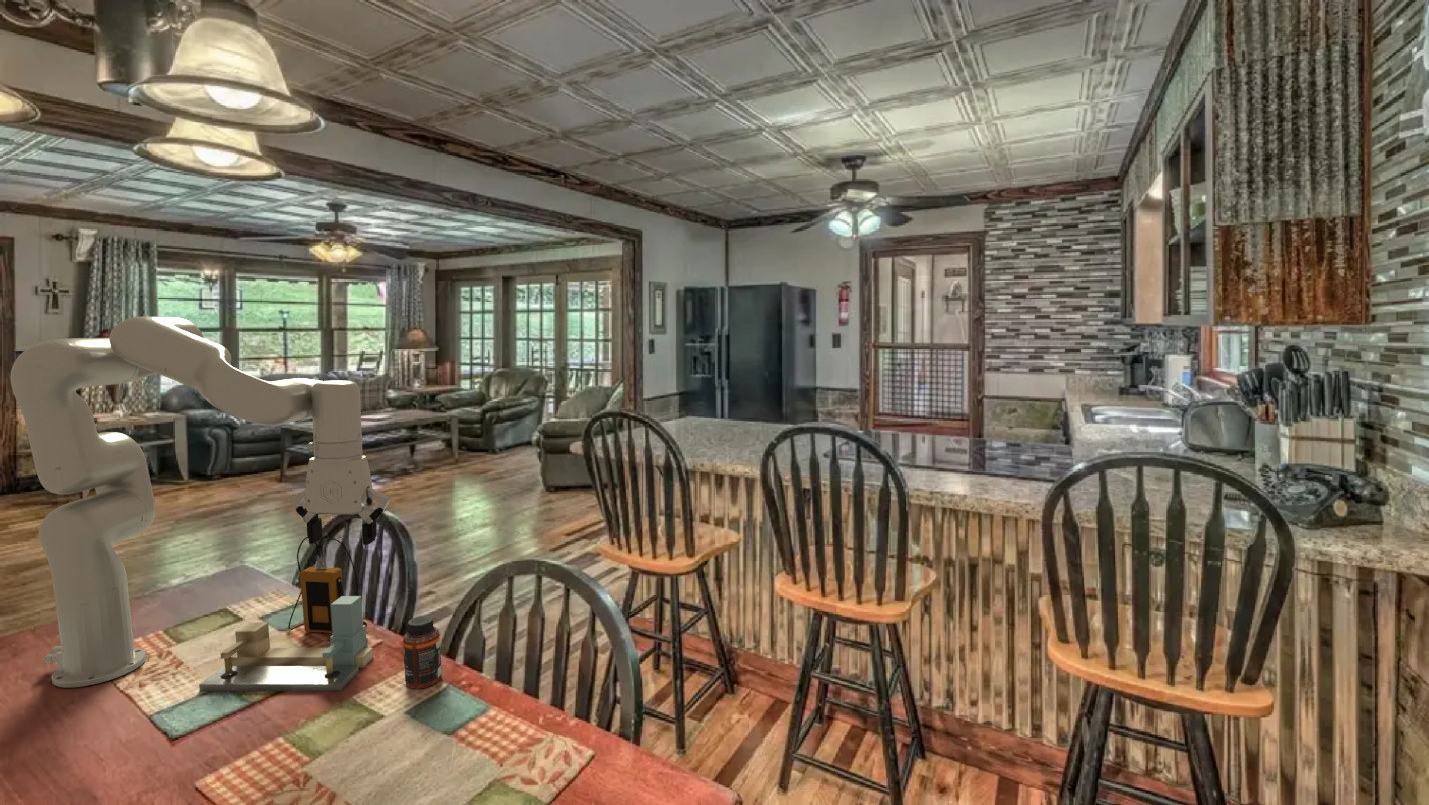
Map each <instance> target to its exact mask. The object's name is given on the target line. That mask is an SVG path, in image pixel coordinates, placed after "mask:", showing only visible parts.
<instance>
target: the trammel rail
mask: <svg viewBox="0 0 1429 805" xmlns="http://www.w3.org/2000/svg"><path fill="white" fill-rule="evenodd" d="M234 633H235V634H234V635H235V643H233V644H232V645H230V646H229V647H227V648H226V649H224V650H223V651H221V652H220V659H224V666H225V673H226V674H230V673H232V672H233V671H232V666H326V658H323V652H324V651H325V650H326V649H328V648H329V647H271V643H270V642H271V640H270V630H269V622H248V623H246V624H244V625H243V626H241V627H240V628H238V629H236V630H235V631H234ZM373 658H374V647H368V648H362V649H361V650H360V651H359V652H358V653H357V654H356V655H355V656H354V661H355V666H358V668H364V667H366V666H367V664H369V663H370V662H371V661H372V659H373Z"/></svg>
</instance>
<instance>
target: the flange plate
mask: <svg viewBox="0 0 1429 805" xmlns="http://www.w3.org/2000/svg"><path fill="white" fill-rule="evenodd" d="M232 671H233V672H232V673H230V674H226V673H225V665H224V666H222V667H221V668H220V669H219V670H217V671H216V672H215V673H213V674H212V675H210V676H208V677H207V678H206V679H205V680H203V681H202V682H201V683H199V684H198V687H199V688H198V689H199V692H230V691H231V692H240V691H241V692H247V691H248V692H256V691H258V692H259V691H260V692H266V691H267V692H270V691H272V692H276V691H277V692H284V691H285V692H286V691H287V692H288V691H290V692H292V691H293V692H294V691H295V692H297V691H298V692H299V691H300V692H303V691H306V692H308V691H311V692H313V691H314V692H315V691H317V692H318V691H320V692H321V691H327V692H328V691H331V692H332V691H339V692H340V691H342V690H343V689H344V688H345V687H346V686H347V685H348V684H349V683H350V682H351V680H352V679H354V678H355V677H356V676H357V674H358V673H359V671H360V670H359V667H358V666H333V672H332V673H330V674H327V669H326V666H232ZM205 690H206V691H205ZM208 690H209V691H208Z"/></svg>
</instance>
